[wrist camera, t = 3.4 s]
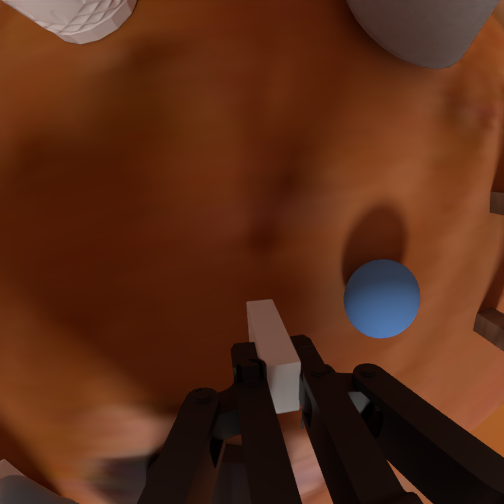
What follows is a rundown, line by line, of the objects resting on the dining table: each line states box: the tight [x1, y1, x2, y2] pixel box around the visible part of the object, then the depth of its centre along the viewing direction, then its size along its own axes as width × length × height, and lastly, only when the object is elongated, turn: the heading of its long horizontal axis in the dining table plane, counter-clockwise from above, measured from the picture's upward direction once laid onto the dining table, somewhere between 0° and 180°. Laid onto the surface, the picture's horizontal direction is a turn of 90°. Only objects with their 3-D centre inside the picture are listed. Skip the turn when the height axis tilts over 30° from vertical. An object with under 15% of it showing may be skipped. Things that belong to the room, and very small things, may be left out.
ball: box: [344, 259, 420, 338], centre depth 20 cm, size 6×6×6 cm
